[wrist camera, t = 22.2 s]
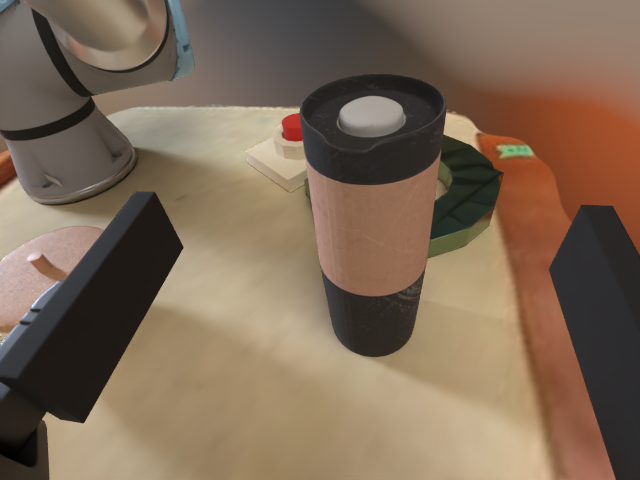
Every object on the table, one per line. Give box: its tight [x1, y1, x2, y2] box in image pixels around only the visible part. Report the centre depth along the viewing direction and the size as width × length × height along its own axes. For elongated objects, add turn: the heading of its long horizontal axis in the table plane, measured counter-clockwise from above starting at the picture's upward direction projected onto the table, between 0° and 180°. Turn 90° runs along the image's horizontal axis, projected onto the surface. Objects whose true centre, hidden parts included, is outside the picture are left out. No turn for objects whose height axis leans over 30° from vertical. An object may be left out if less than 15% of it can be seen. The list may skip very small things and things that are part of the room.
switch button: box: [282, 113, 303, 142], centre depth 50 cm, size 4×4×2 cm
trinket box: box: [0, 226, 104, 337], centre depth 33 cm, size 11×11×9 cm
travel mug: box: [300, 73, 446, 357], centre depth 26 cm, size 8×8×20 cm
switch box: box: [245, 125, 308, 193], centre depth 52 cm, size 10×12×4 cm
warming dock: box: [304, 135, 504, 258], centre depth 44 cm, size 21×21×2 cm
